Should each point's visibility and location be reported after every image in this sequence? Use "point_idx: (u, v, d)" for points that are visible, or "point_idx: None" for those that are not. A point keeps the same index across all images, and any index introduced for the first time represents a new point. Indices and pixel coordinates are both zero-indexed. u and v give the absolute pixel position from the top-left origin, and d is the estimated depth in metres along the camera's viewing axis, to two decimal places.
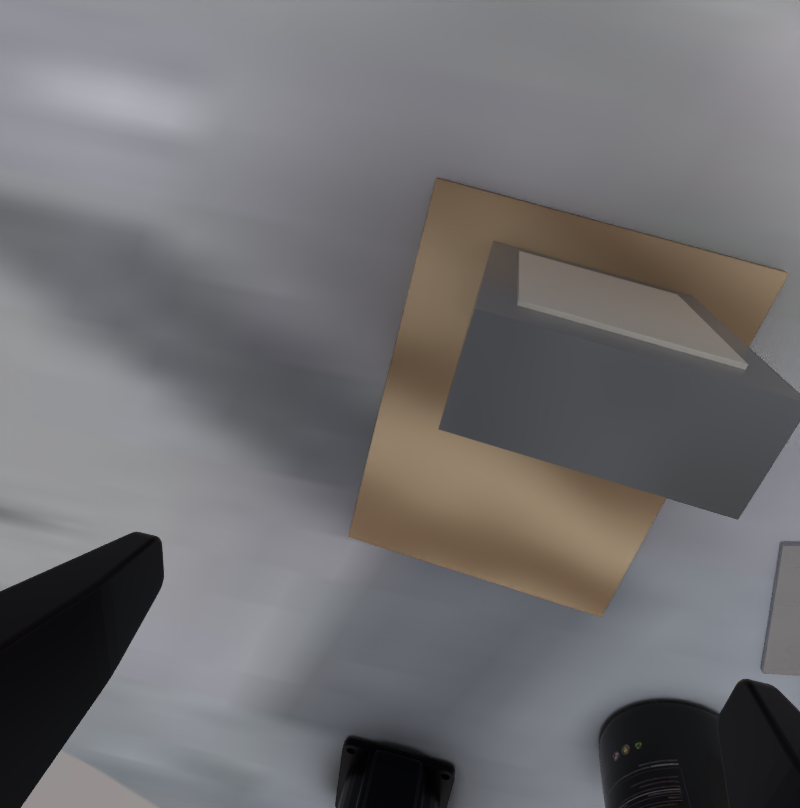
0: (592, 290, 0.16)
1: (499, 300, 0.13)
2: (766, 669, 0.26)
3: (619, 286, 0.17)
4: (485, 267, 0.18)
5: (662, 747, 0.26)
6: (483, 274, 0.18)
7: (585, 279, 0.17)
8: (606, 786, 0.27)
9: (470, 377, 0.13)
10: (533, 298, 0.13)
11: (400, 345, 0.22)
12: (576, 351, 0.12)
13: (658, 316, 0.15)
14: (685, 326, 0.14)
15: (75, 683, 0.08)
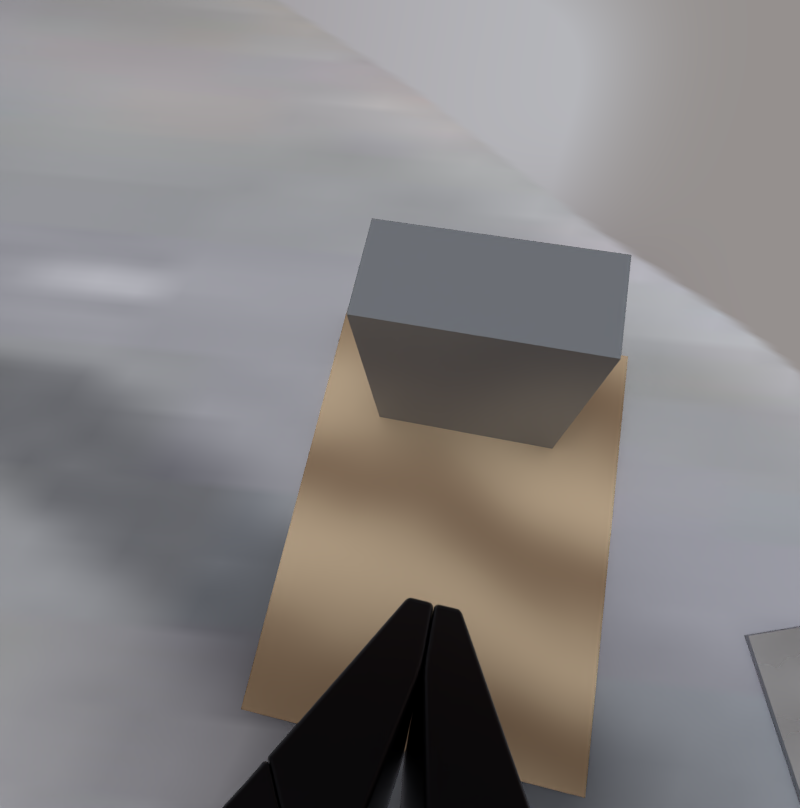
0: None
1: None
2: None
3: None
4: None
5: None
6: None
7: None
8: None
9: (371, 267, 0.15)
10: None
11: (315, 445, 0.23)
12: (451, 239, 0.16)
13: None
14: None
15: (394, 772, 0.07)
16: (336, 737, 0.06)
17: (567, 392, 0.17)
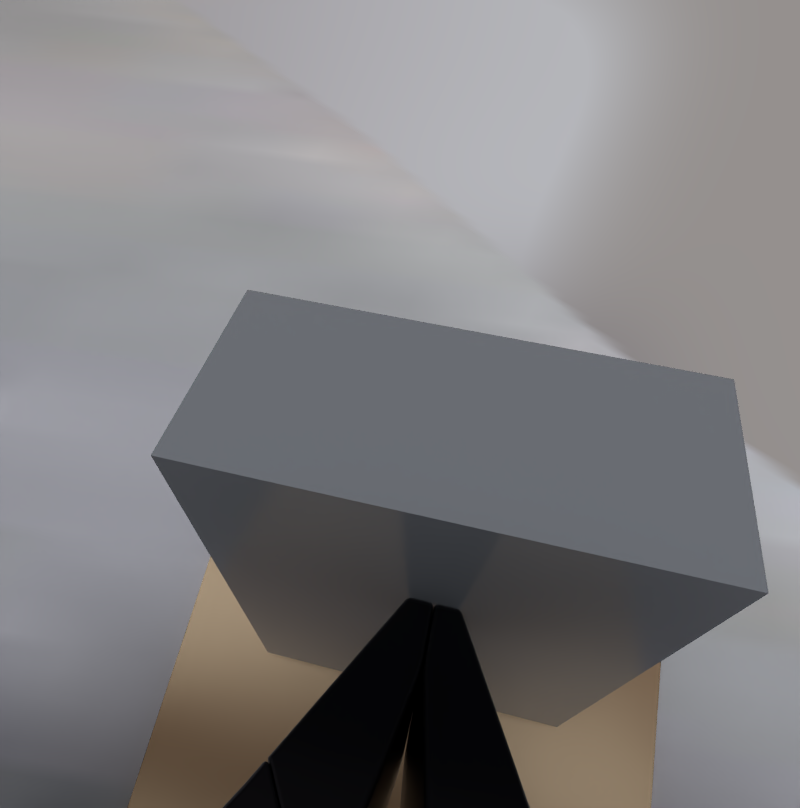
0: None
1: None
2: None
3: None
4: None
5: None
6: None
7: None
8: None
9: (228, 369, 0.08)
10: None
11: (168, 705, 0.14)
12: (391, 332, 0.08)
13: None
14: None
15: (394, 772, 0.07)
16: (336, 737, 0.06)
17: (612, 648, 0.08)
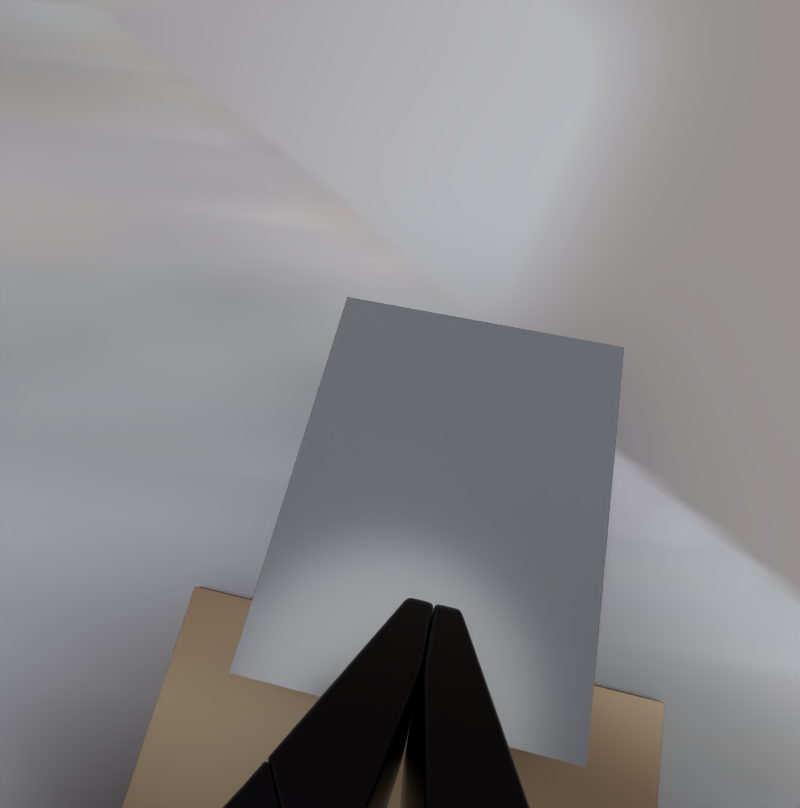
0: None
1: None
2: None
3: None
4: None
5: None
6: None
7: None
8: None
9: None
10: None
11: None
12: None
13: None
14: None
15: (394, 772, 0.07)
16: (336, 737, 0.06)
17: (582, 449, 0.13)
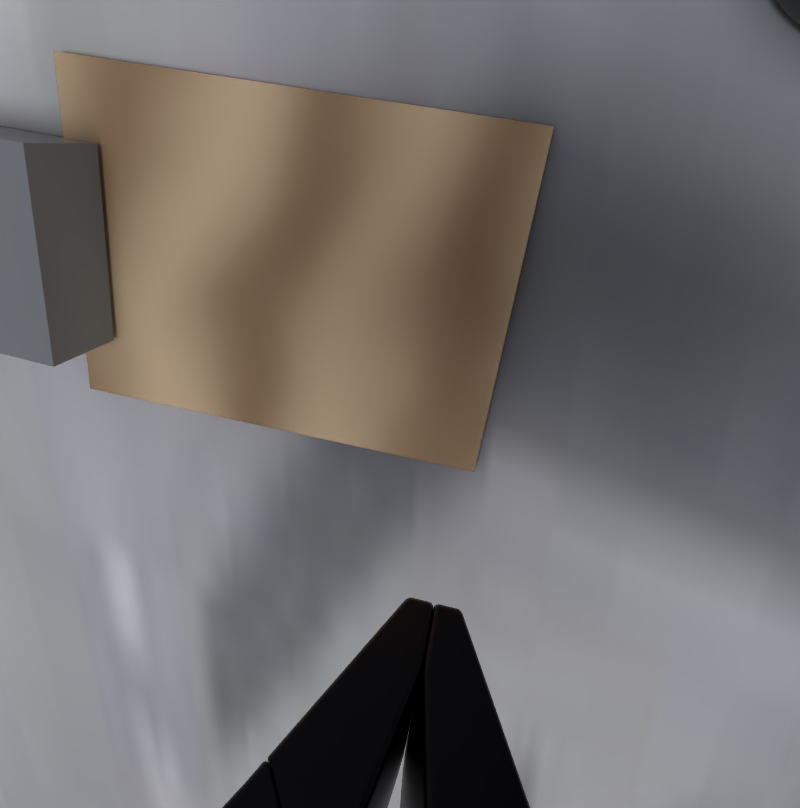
0: None
1: None
2: None
3: None
4: None
5: None
6: None
7: None
8: None
9: None
10: None
11: (231, 415, 0.23)
12: None
13: None
14: None
15: (394, 772, 0.07)
16: (336, 737, 0.06)
17: None
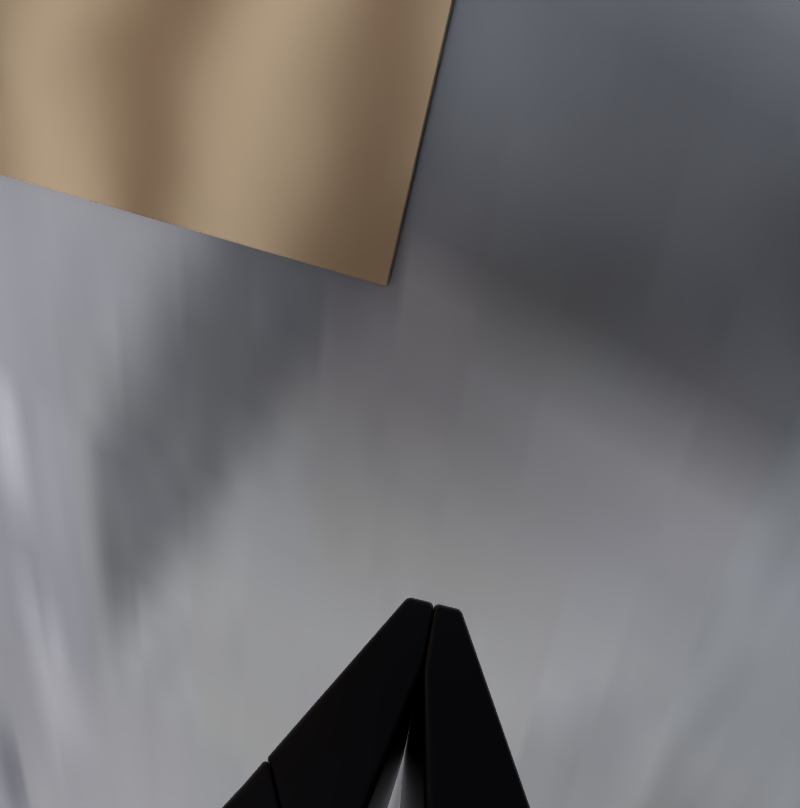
0: None
1: None
2: None
3: None
4: None
5: None
6: None
7: None
8: None
9: None
10: None
11: (122, 204, 0.20)
12: None
13: None
14: None
15: (394, 772, 0.07)
16: (336, 737, 0.06)
17: None
